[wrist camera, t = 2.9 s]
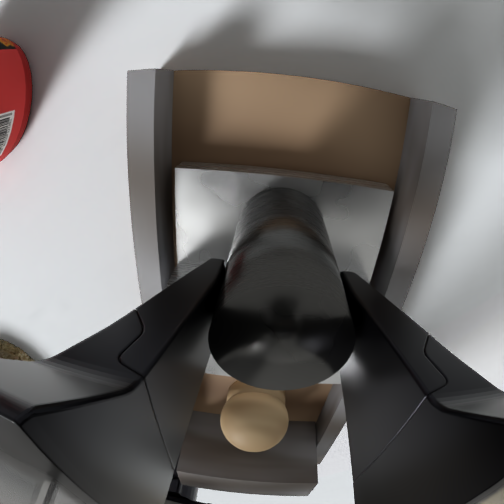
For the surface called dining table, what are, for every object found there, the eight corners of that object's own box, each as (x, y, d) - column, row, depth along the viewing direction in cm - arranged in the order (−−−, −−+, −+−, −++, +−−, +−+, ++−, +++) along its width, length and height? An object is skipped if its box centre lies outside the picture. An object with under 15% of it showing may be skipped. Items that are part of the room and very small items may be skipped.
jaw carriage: (348, 321, 15) (374, 447, 9) (186, 305, 15) (142, 428, 9) (385, 183, 12) (474, 284, 6) (182, 161, 12) (91, 246, 6)
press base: (323, 422, 24) (327, 497, 17) (179, 409, 24) (160, 481, 18) (422, 103, 12) (520, 128, 6) (155, 73, 12) (63, 73, 6)
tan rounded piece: (283, 412, 20) (282, 463, 16) (224, 407, 20) (216, 458, 16) (293, 378, 18) (294, 435, 14) (225, 371, 18) (215, 428, 14)
